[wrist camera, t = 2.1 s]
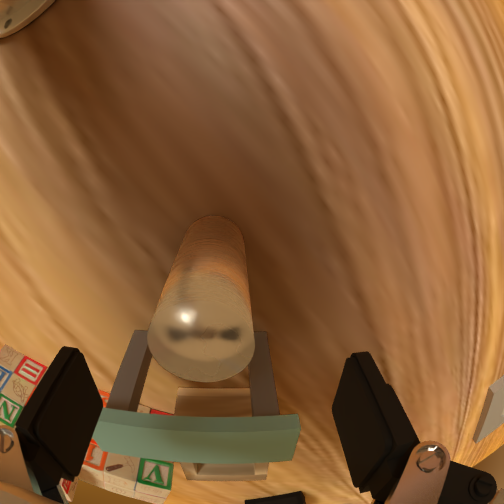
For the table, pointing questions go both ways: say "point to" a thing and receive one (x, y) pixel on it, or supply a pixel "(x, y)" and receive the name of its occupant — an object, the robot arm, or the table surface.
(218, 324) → the peg
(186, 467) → the socket
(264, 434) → the teal bridge block
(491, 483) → the robot arm
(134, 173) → the table surface
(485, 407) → the award plaque
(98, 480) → the stack of blocks
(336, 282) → the table surface
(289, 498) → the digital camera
